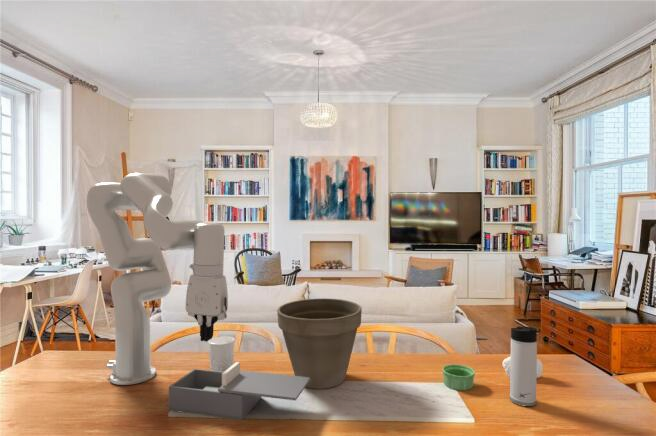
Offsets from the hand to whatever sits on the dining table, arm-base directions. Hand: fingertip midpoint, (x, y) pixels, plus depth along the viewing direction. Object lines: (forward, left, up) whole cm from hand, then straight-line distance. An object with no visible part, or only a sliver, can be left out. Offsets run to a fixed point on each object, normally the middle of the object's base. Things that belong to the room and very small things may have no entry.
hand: (206, 339), depth 109 cm
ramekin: (+65, +27, -17) cm, 73 cm away
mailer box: (+3, 0, -17) cm, 17 cm away
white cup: (-6, +19, -17) cm, 26 cm away
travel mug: (+81, +20, -17) cm, 85 cm away
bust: (+84, +38, -17) cm, 94 cm away
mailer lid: (+17, 0, -10) cm, 20 cm away
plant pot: (+25, +21, -17) cm, 37 cm away
